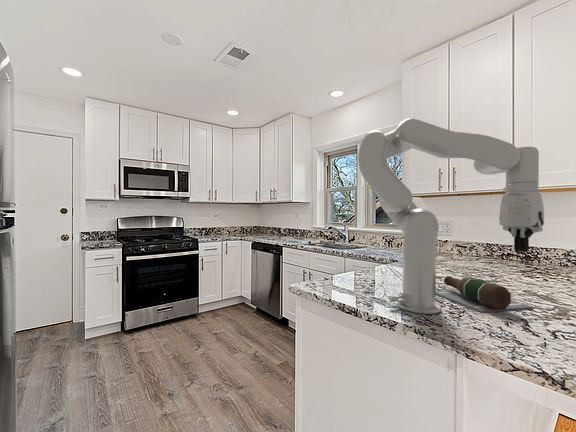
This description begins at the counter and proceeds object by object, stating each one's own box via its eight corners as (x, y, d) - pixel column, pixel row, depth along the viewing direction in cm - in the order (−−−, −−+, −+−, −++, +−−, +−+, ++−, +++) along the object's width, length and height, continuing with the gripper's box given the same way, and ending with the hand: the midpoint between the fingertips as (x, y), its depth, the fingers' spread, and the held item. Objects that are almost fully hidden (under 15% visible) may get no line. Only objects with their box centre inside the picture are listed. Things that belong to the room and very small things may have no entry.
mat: (480, 312, 86) (480, 310, 86) (430, 292, 107) (430, 290, 107) (533, 308, 90) (533, 306, 90) (474, 290, 111) (474, 288, 111)
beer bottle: (495, 282, 86) (442, 267, 109) (486, 306, 85) (435, 286, 109) (516, 291, 86) (459, 274, 110) (507, 315, 86) (452, 293, 110)
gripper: (488, 191, 90) (488, 248, 90) (539, 186, 76) (538, 254, 76) (507, 191, 92) (506, 247, 92) (560, 187, 77) (559, 253, 78)
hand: (521, 250), depth 84 cm, fingers closed
